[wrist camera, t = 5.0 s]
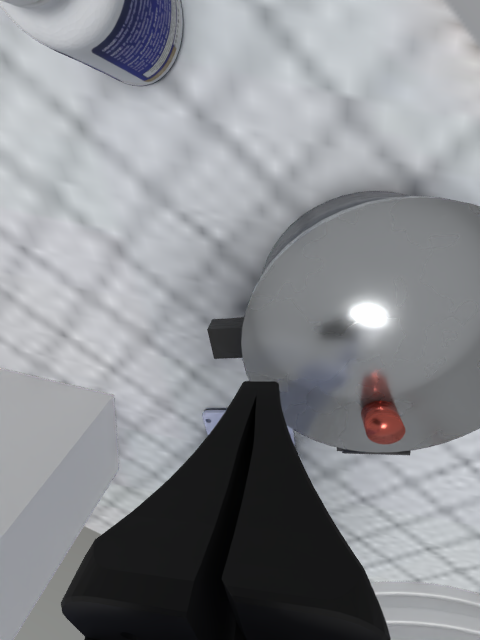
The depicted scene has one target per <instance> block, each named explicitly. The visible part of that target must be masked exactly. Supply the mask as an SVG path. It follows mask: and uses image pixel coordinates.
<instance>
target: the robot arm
mask: <svg viewBox="0 0 480 640" xmlns="http://www.w3.org/2000/svg"><path fill="white" fill-rule="evenodd" d="M202 417H203V421H204V424H205V428H206V431H207V435H208V436H207V438H206V439H205V440H204V442H203V443H202V444H201V445H200V446H199V448H198V449H197V450H196V451H195V452H194V453H193V455H192V456H191V457H190V458H189V459H188V460H187V461H186V462H185V463H184V464H183V465H182V466H181V467H180V468H179V470H178V471H177V472H176V473H175V474H174V475H173V476H172V477H171V478H170V479H169V480H168V481H166V482H165V483H164V484H163V485H162V486H161V487H160V488H159V489H158V490H157V491H156V492H154V493H153V494H152V495H151V496H150V497H149V498H148V499H146V500H145V501H144V502H143V503H142V504H141V505H139V506H138V507H137V508H136V509H135V510H134V511H132V512H131V513H130V514H129V515H127V516H126V517H125V518H123V519H122V520H121V521H119V522H118V523H117V524H115V525H114V526H113V527H111V528H110V529H109V530H108V531H106V532H105V533H104V534H102V535H101V536H100V537H98V538H97V539H95V541H94V542H93V544H92V546H91V547H90V549H89V551H88V552H87V554H86V555H85V557H84V559H83V561H82V563H81V565H80V567H79V569H78V570H77V572H76V575H75V576H74V578H73V580H72V582H71V584H70V586H69V588H68V590H67V592H66V594H65V596H64V598H63V600H62V602H61V607H62V612H63V614H64V615H65V616H66V618H67V619H68V620H69V621H70V622H71V623H72V624H73V625H74V626H75V627H76V628H77V629H78V630H79V631H80V632H81V633H82V634H83V635H84V636H85V640H391V638H390V634H389V630H388V627H387V623H386V620H385V617H384V615H383V612H382V609H381V607H380V604H379V602H378V600H377V597H376V595H375V593H374V590H373V588H372V586H371V584H370V581H369V579H368V577H367V575H366V572H365V570H364V568H363V566H362V565H361V563H360V562H359V560H358V559H357V558H356V556H355V555H354V553H353V552H352V550H351V549H350V547H349V546H348V544H347V542H346V541H345V539H344V538H343V536H342V535H341V533H340V532H339V530H338V528H337V527H336V525H335V523H334V522H333V520H332V519H331V517H330V515H329V513H328V512H327V510H326V508H325V506H324V505H323V503H322V501H321V499H320V497H319V496H318V494H317V492H316V490H315V489H314V487H313V485H312V483H311V481H310V479H309V477H308V475H307V473H306V471H305V469H304V467H303V465H302V462H301V460H300V458H299V456H298V453H297V451H296V449H295V442H294V432H293V429H292V428H290V427H289V426H287V424H286V421H285V418H284V415H283V411H282V407H281V401H280V390H279V383H277V382H276V381H245V382H243V383H242V385H241V387H240V389H239V390H238V392H237V394H236V396H235V397H234V399H233V401H232V402H231V404H230V405H229V407H228V408H227V410H205V411H204V412H203V414H202ZM209 419H210V420H209Z"/></svg>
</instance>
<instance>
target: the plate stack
mask: <svg viewBox="0 0 480 640" xmlns="http://www.w3.org/2000/svg"><path fill="white" fill-rule="evenodd" d="M370 584H371V586H372V588H373V590H374V593H375V595H376V597H377V600H378V602H379V604H380V607H381V609H382V612H383V615H384V617H385V620H386V623H387V627H388V630H389V634H390V638H391V640H480V594H479V593H476V592H472V591H468V590H465V589H460V588H456V587H451V586H446V585H439V584H432V583H423V582H410V581H382V582H370Z"/></svg>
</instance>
